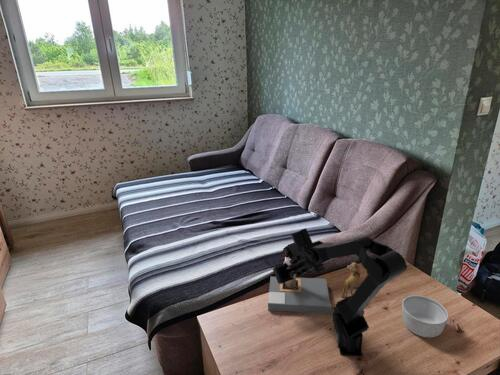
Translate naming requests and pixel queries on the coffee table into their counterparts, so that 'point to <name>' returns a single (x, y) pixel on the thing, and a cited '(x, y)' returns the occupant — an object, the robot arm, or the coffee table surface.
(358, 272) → the lion figurine
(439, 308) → the ramekin
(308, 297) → the gray peg hole board
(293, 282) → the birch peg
